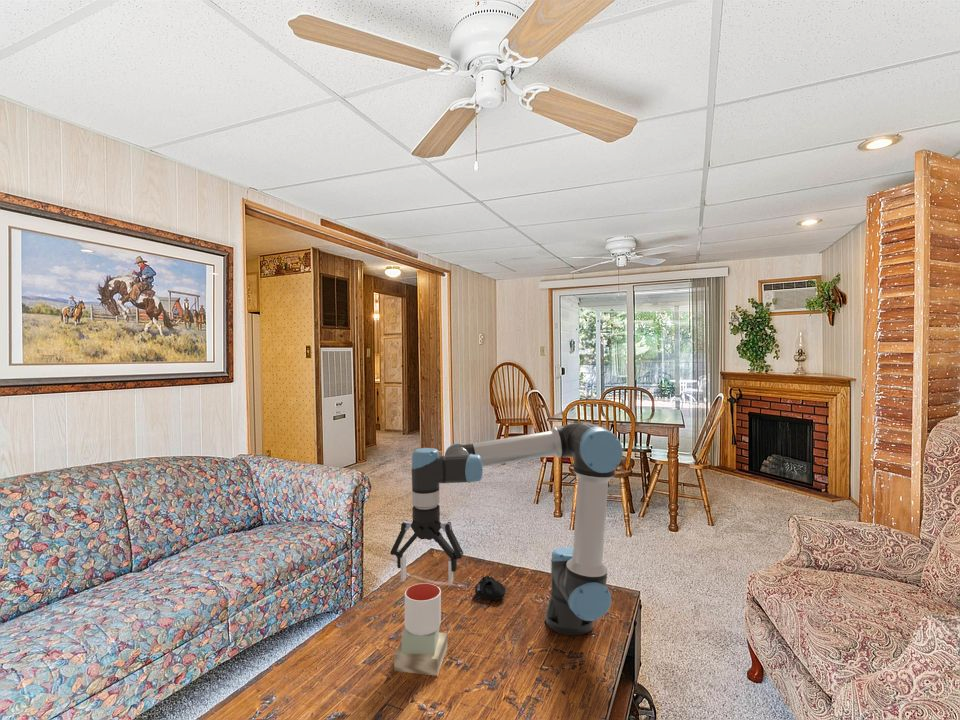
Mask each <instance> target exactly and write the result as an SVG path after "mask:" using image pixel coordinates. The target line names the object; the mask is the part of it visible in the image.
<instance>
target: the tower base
mask: <svg viewBox="0 0 960 720" xmlns="http://www.w3.org/2000/svg"><path fill="white" fill-rule="evenodd" d="M447 651H448V633H447V632H440V631H439V638H438V642H437V646H436V651H435V655H429V654H403V653H402V640H400V643H399V645H398V646H397V648H396V650H395V651H394V653H393V671H394V672H399V673H410V674H418V675H427V676H436V677H437V676H438V675H439V673H440V670H441V667H442V664H443V662H444V659H445V656H446V653H447Z"/></svg>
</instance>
